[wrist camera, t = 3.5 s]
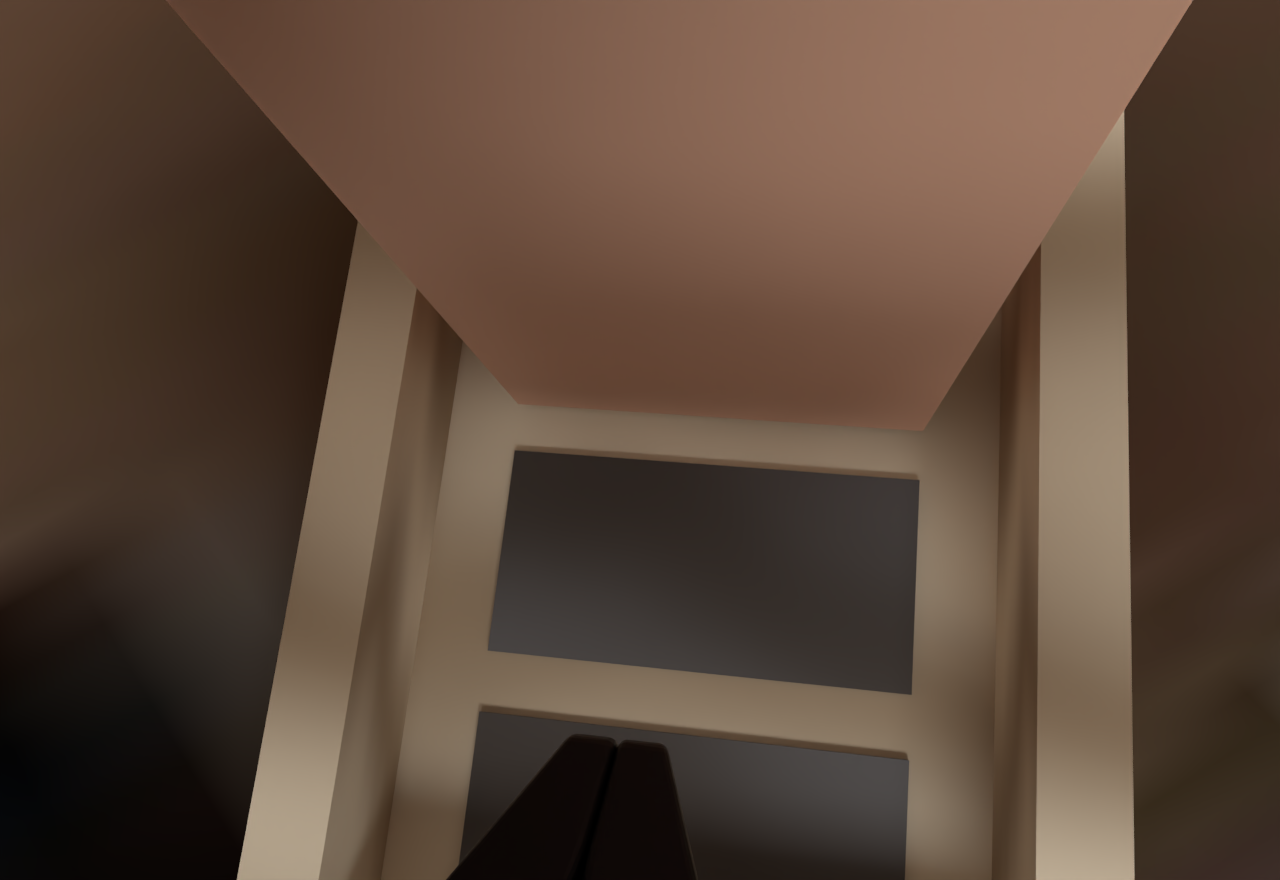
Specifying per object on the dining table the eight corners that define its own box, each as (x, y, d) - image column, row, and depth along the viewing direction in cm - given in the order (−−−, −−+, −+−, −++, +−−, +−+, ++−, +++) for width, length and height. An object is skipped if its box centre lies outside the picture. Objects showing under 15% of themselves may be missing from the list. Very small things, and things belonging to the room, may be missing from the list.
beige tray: (1054, 1094, 15) (1138, 1213, 12) (317, 977, 17) (205, 1051, 13) (1059, -190, 20) (1117, -363, 17) (505, -179, 22) (459, -333, 19)
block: (922, 431, 16) (1304, -178, 5) (518, 404, 17) (30, -154, 6) (934, 112, 18) (1252, -956, 6) (558, 104, 19) (230, -829, 7)
